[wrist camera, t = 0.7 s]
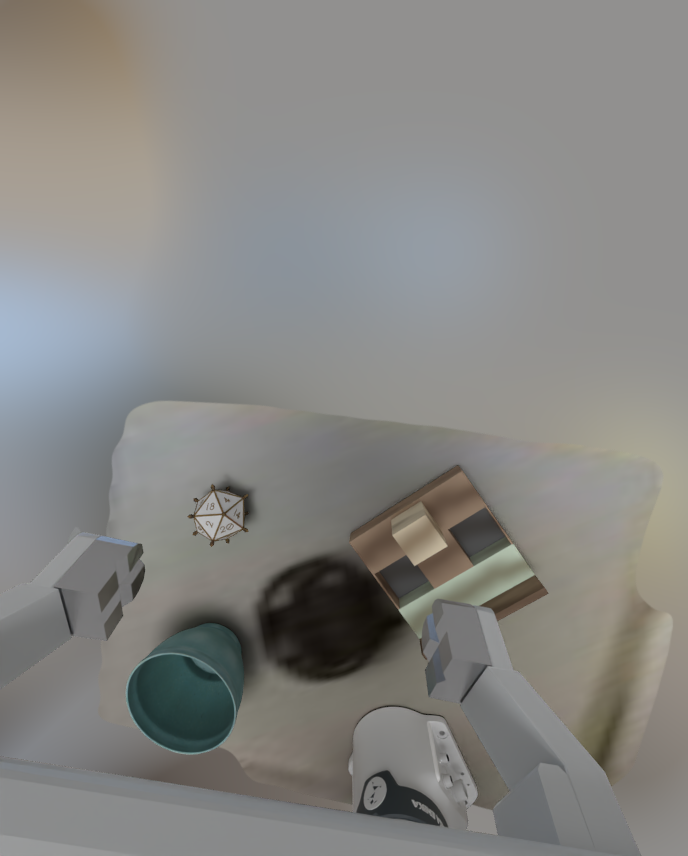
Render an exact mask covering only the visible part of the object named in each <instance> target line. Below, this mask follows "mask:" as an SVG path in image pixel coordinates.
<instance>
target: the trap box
mask: <svg viewBox="0 0 688 856" xmlns="http://www.w3.org/2000/svg"><path fill="white" fill-rule="evenodd" d="M420 501H421V502H422V503H423V505H424V506H425V507H426V509H427V510H428V512H429V513H430V514H431V516H432V517H433V519H434V520H435V521H436V523H437V524H438V526H439V527H440V528H441V530H442V533H443V535H444V538H445V541H446V543H447V547H446V548H444V549H442V550H441V551H439V552H437V553H436V554H434V555H432V556H431V557H429V558H427V559H426V560H424V561H422V562H420V563H419V564H417V565H415V566H414V565H413V563H412V562H411V561H410V559H409V558H408V556H407V555H406V554H405V552H404V551H403V549H402V548H401V547H400V545H399V544H398V543H397V541H396V540H395V538H394V537H393V536H392V524H391V520H392V519H393V518H395V517H396V516H398V515H400V514H401V513H403V512H404V511H406V510H408V509H409V508H411V507H412V506H414V505H416V504H417V503H419V502H420ZM349 543H350V544H351V546H352V547H353V548H354V550H355V551H356V553H357V554H358V555H359V557H360V558H361V559H362V561H363V562H364V563H365V565H366V566H367V568H368V569H369V570H370V572H371V573H372V574H373V576H374V577H375V579H376V580H377V581H378V583H379V584H380V585H381V587H382V588H383V589H384V591H385V592H386V594H387V595H388V596H389V598H390V599H391V600H392V602H393V603H394V604H395V606H396V607H397V609H398V610H399V611H400V613H401V614H402V615H403V617H404V618H405V620H406V621H407V622H408V624H409V625H410V626H411V628H412V629H413V630H414V632H415V633H416V635H417V636H418V637H419V639H420V645H421V652H422V655H423V656H424V658H425V659H427V658H426V656H425V655H424V653H423V649H422V629H423V624H424V621H425V619H426V617H427V616H428V615H430V614H432V613H433V611H432V605H433V603H434V601H435V600H436V599H444V600H449V601H455V602H461V603H467V604H471V605H476V606H481V607H487V608H491V609H492V610H493V612H494V614H495V617H496V620H497V621H499V620H500V619H502V618H504V617H506V616H508V615H510V614H511V613H513V612H515V611H517V610H519V609H521V608H523V607H524V606H526V605H528V604H530V603H532V602H534V601H536V600H537V599H539V598H541V597H543V596H545V595H547V594H548V592H547V590H546V589H545V588H544V586H543V585H542V584H541V582H540V581H539V580H538V578H537V577H536V576H535V574H534V573H533V571H532V570H531V569H530V567H529V566H528V564H527V563H526V561H525V560H524V559H523V557H522V556H521V554H520V553H519V551H518V550H517V548H516V547H515V546H514V544H513V543H512V541H511V540H510V538H509V537H508V536H507V534H506V533H505V531H504V530H503V528H502V527H501V525H500V524H499V523H498V521H497V520H496V518H495V517H494V515H493V514H492V513H491V511H490V510H489V508H488V507H487V505H486V504H485V502H484V501H483V500H482V498H481V497H480V495H479V494H478V492H477V491H476V490H475V488H474V487H473V485H472V484H471V482H470V481H469V479H468V478H467V477H466V475H465V474H464V472H463V471H462V470H461V468H460V467H459V466H458V465H457V466H456V467H454V468H453V469H451V470H450V471H448V472H446V473H445V474H443V475H442V476H440V477H439V478H437V479H435V480H434V481H432V482H431V483H429V484H428V485H426V486H424V487H423V488H421V489H420V490H418V491H417V492H415V493H413V494H412V495H410V496H409V497H407V498H406V499H404V500H402V501H401V502H399V503H398V504H396V505H395V506H393V507H391V508H390V509H388V510H387V511H385V512H384V513H382V514H380V515H379V516H377V517H376V518H374V519H373V520H371V521H369V522H368V523H366V524H365V525H363V526H362V527H360V528H358V529H357V530H355V531H354V532H352V533H351V535H350V540H349Z"/></svg>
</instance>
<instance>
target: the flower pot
mask: <svg viewBox="0 0 688 856" xmlns="http://www.w3.org/2000/svg"><path fill="white" fill-rule="evenodd" d="M241 653H242V651H241V645H240V643H239V640H238V639H237V637H236V636H235V634H234V633H233V632H232V631H230V630H229V629H228V628H226V627H224V626H222V625H220V624H215V623H206V624H202V625H199V626H197V627H196V628H191V629H187V630H184V631H182V632H179V633H177V634H175V635H173V636H171V637H170V638H168V639H167V640H165V641H164V642H162V643H161V644H160V645H159V646H157V647H156V648H155V649H154V650H153V651H152V652H151V653H150V654H149V655H148V656H147V657H146V658H144V659H143V660H142V661H141V662H140V663H139V664H138V665H137V666H136V667H135V668H134V670H133V671H132V672H131V674H130V676H129V678H128V681H127V685H126V702H127V707H128V710H129V713H130V716H131V718H132V719H133V721H134V723H135V724H136V726H137V727H138V729H139V730H140V731H141V732H142V733H143V734H144V735H145V736H146V737H147V738H149V739H150V740H151V741H153V742H154V743H155V744H157V745H159V746H160V747H163V748H165V749H167V750H170V751H172V752H176V753H180V754H200V753H205V752H208V751H211V750H213V749H215V748H217V747H218V746H220V745H221V744H222V743H224V742H225V740H226V739H227V738H228V737H229V735H230V734H231V732H232V730H233V727H234V724H235V721H236V718H237V712H238V709H239V706H240V703H241V699H242V694H243V687H244V667H243V661H242V657H241Z"/></svg>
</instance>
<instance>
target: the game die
mask: <svg viewBox="0 0 688 856" xmlns="http://www.w3.org/2000/svg"><path fill="white" fill-rule="evenodd" d="M211 489H212V491H211V492H209V493H208V494H207V495H205V496H204V497H203V498H201V499H200V500H198V499H197V498H194V501H195V502H197V505H196V509H195V512H194V515H192V514H191V515H189V516H188V517H189V518H194V522H195V525H196V529H197V531H195V532H193V535H196V534H197V533H200V534H201V535H203V536H205V537H206V538H208V539H210V540H211V542H210V546H211V547H212V546H213V545H214V541H219V540H224V539H226V543H229V539H228V538H230V537H231V536H233V535H235V534H236V533H238V532H240V531H241V530H244V531H245V532H249V531H248V529H246V528H244V519H245V515H248V514H249V513H248V512H245V509H244V499H245V498H247V497H248V494H245V495H244V496H243V497H241V496H239V495H236V494H234V493H232V492H229V489H230V488H229V486H228V487H227V488H226V491H225V490H215V486H214V485H213V484H212V486H211Z"/></svg>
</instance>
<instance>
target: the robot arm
mask: <svg viewBox="0 0 688 856" xmlns="http://www.w3.org/2000/svg"><path fill="white" fill-rule="evenodd" d="M142 554H143V547H142V544H138V543H134V542H129V541H124V540H120V539H115V538H110V537H106V536H101V535H96V534H91V533H86V532H82V533H80V534H78V535H76V536H75V537H74V538H73V539H72V540H71V541H70V542H69V543H68V544H67V545H66V546H65V547H64V548H63V549H62V550H61V551H60V553H59V554H58V555H57V556H56V557H55V558H54V559H53V560H52V561H51V562H50V563H49V564H48V565H47V566H46V567H45V568H44V569H43V570H42V571H41V572H40V573H39V574H38V575H37V577H36V578H35V579H33V580H32V581H31V583H21V584H19V585H17V586H15V587H13V588H11V589H9V590H7V591H5V592H2V593H0V689H2V688H3V687H4V686H6V685H7V684H9V683H10V682H11V681H13V680H14V679H16V678H17V677H18V676H20V675H21V674H22V673H24V672H25V671H27V670H28V669H29V668H31V667H32V666H34V665H35V664H36V663H38V662H39V661H41V660H42V659H43V658H45V657H46V656H47V655H49V654H50V653H52V652H53V651H54V650H56V649H57V648H59V647H60V646H61V645H63V644H64V643H65V642H67V641H68V640H70V639H71V638H72V636H77V637H84V638H90V639H98V640H104V641H107V640H108V638H109V637H110V635H111V634H112V632H113V631H114V629H115V627H116V626H117V624H118V623H119V621H120V620H121V618H122V617H123V612H122V607H123V606H124V605H126V604H128V603H129V602H131V601H133V599H134V598H135V596H136V594H137V593H138V591H139V589H140V587H141V584H142V582H143V579H144V573H145V565H144V563H143V562H142V561H141V560H140V559H139V558H140V557H141V556H142ZM432 611H433V613H432V614H430V615H428V616H427V617H426V619H425V621H424V624H423V629H422V649H423V653H424V655H425V656H426V658H427V659H428V660H429V663H428V665H427V667H426V669H425V673H426V680H427V687H428V695H429V697H431V698H435V699H440V700H445V701H450V702H455V703H460V704H461V705H460V706H461V708H462V710H463V712H464V713H465V715H466V717H467V718H468V720H469V722H470V724H471V725H472V727H473V729H474V731H475V732H476V734H477V736H478V737H479V739H480V741H481V743H482V744H483V746H484V748H485V749H486V751H487V753H488V755H489V756H490V758H491V760H492V761H493V763H494V765H495V767H496V768H497V770H498V772H499V773H500V775H501V777H502V779H503V780H504V782H505V784H506V785H507V787H508V789H509V791H510V792H509V793H508V794H506V795H505V796H504V797H503V798H502V799H501V800H500V801H499V802H498V803H497V804H496V806H495V807H494V809H493V813H494V818H495V823H496V828H497V833H498V835H492V834H485V833H479V832H473V831H467V830H466V829H467V825H468V818H467V811H466V809H468V808H469V807H470V806H471V805H472V804H473V802H474V801H475V800H476V798H477V796H478V792H477V787H476V784H475V782H474V780H473V778H472V775H471V773H470V771H469V769H468V767H467V765H466V763H465V760H464V758H463V756H462V754H461V752H460V750H459V748H458V745H457V743H456V741H455V739H454V737H453V735H452V733H451V730H450V728H449V726H448V724H447V722H446V720H445V719H444V718H443V717H440V716H435V715H423V714H420V713H418V712H415V711H413V710H410V709H406V708H402V707H385V708H380V709H377V710H374V711H372V712H370V713H369V714H367V715H366V716H365V717H363V718H362V719H361V720H360V722H359V723H358V725H357V726H356V728H355V731H354V734H353V752H352V754H351V757H350V759H349V762H348V771H349V773H350V774H351V775H352V783H353V812H347V811H341V810H335V809H329V808H323V807H316V806H310V805H304V804H297V803H291V802H285V801H279V800H273V799H266V798H260V797H254V796H247V795H241V794H235V793H229V792H222V791H216V790H209V789H204V788H197V787H191V786H185V785H179V784H172V783H166V782H160V781H153V780H147V779H141V778H134V777H128V776H122V775H116V774H110V773H103V772H97V771H90V770H84V769H78V768H72V767H66V766H59V765H53V764H47V763H40V762H34V761H28V760H22V759H16V758H9V757H3V756H0V856H641V854H640V852H639V849H638V847H637V845H636V843H635V840H634V838H633V836H632V833H631V831H630V829H629V826H628V824H627V822H626V820H625V817H624V815H623V813H622V810H621V808H620V806H619V804H618V801H617V799H616V797H615V794H614V792H613V790H612V787H611V785H610V783H609V781H608V778H607V776H606V774H605V772H604V771H603V769H602V768H601V767H600V766H599V765H598V763H597V762H596V761H595V760H594V759H593V758H592V756H591V755H590V754H589V753H588V752H587V751H586V749H585V748H584V747H583V746H582V745H581V744H580V742H579V741H578V740H577V739H576V738H575V737H574V735H573V734H572V733H571V732H570V731H569V730H568V728H567V727H566V726H565V725H564V724H563V722H562V721H561V720H560V719H559V718H558V717H557V715H556V714H555V713H554V712H553V711H552V710H551V708H550V707H549V706H548V705H547V704H546V703H545V701H544V700H543V699H542V698H541V697H540V696H539V694H538V693H537V692H536V691H535V690H534V688H533V687H532V686H531V685H530V684H529V683H528V681H527V680H526V679H525V678H524V677H523V676H522V674H521V673H520V672H518V671H514V670H513V667H512V664H511V661H510V658H509V655H508V652H507V649H506V646H505V643H504V640H503V637H502V634H501V632H500V629H499V626H498V623H497V620H496V617H495V614H494V612H493V610H492V609H491V608H487V607H481V606H476V605H471V604H467V603H461V602H455V601H449V600H444V599H436V600H435V601H434V603H433V605H432Z"/></svg>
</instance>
